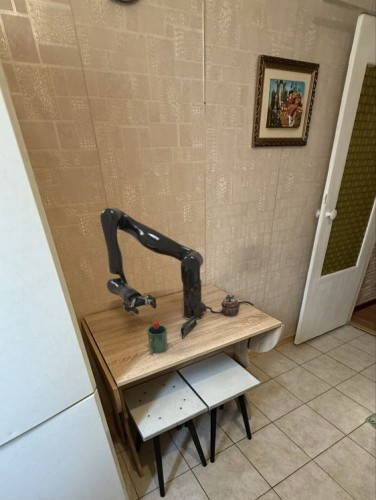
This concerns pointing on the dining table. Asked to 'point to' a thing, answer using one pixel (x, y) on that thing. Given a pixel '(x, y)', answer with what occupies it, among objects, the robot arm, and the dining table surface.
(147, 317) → the dining table surface
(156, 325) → the marker
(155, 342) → the mug
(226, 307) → the cupcake
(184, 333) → the mobile phone
